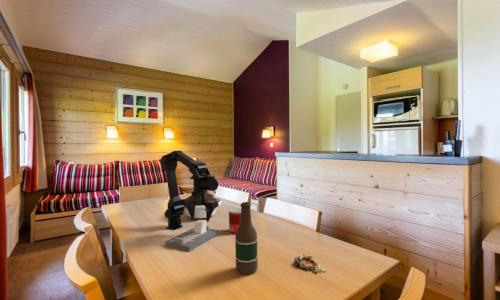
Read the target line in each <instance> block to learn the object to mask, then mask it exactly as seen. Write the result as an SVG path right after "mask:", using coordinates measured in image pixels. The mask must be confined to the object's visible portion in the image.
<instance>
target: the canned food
mask: <svg viewBox="0 0 500 300" xmlns="http://www.w3.org/2000/svg"><path fill="white" fill-rule="evenodd" d="M240 222H241V208H230V209H229V210H228V226H229V227H228V229H229V230H228V231H229V233H230V234H234V235H236V232H237V230H238V228H239V226H240Z"/></svg>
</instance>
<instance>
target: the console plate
mask: <svg viewBox="0 0 500 300" xmlns="http://www.w3.org/2000/svg"><path fill="white" fill-rule="evenodd" d="M217 236H220V230H219V229H214V228H210V226H209V225H206V231H205V232H203V233H202V234H200V233H195V229H194V227H192V228H191V229H189V230H187V231H184V232H181V233H179V234H178V235H176V236H174V237H171V238H169V239H166V240H164V246H165V247H170V248H173V249H177V250H182V251H187V252H191V251H194V250H195V249H197V248H198V247H199V246H201V245H204V244H205V243H207V242H208V241H210V240H212V239H214V238H216V237H217Z"/></svg>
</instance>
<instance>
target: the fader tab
mask: <svg viewBox="0 0 500 300" xmlns="http://www.w3.org/2000/svg"><path fill="white" fill-rule="evenodd" d="M193 225H194V227H193V228H194V229H195V233H200V234H202V233H203V232H205V231H206V226H207V220H203V219H198V220H196V221H194V224H193Z"/></svg>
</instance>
